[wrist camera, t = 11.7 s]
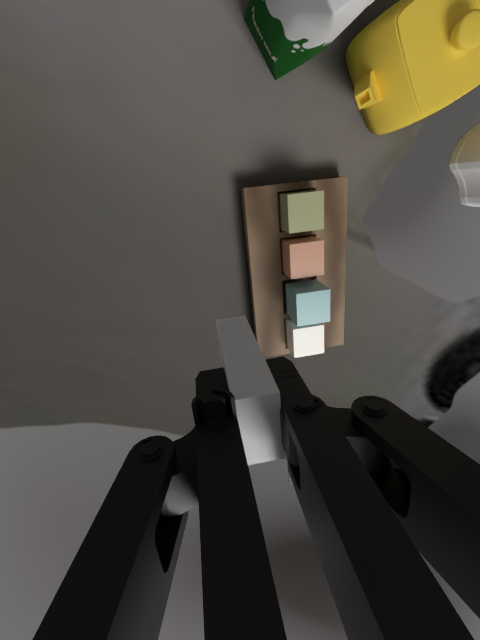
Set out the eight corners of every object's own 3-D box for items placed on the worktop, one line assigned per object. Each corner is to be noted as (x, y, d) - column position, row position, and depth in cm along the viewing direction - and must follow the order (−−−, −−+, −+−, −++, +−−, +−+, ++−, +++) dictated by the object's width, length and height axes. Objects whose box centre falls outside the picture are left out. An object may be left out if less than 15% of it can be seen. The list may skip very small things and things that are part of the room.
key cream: (284, 343, 53) (294, 357, 48) (283, 316, 51) (292, 329, 47) (312, 338, 53) (324, 353, 49) (311, 312, 52) (324, 324, 47)
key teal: (286, 313, 49) (297, 326, 44) (285, 283, 47) (296, 294, 42) (316, 308, 49) (330, 321, 45) (316, 279, 47) (330, 289, 43)
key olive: (278, 228, 46) (289, 233, 41) (277, 193, 44) (287, 194, 40) (310, 224, 46) (324, 229, 42) (309, 190, 45) (324, 190, 40)
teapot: (341, 162, 45) (390, 154, 34) (305, 63, 40) (348, 18, 29) (474, 81, 44) (568, 47, 33) (453, -30, 39) (556, -113, 28)
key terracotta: (281, 270, 48) (290, 279, 44) (279, 239, 47) (289, 244, 42) (311, 266, 49) (324, 274, 44) (310, 234, 47) (323, 240, 42)
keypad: (255, 351, 54) (258, 358, 52) (240, 188, 44) (243, 188, 42) (337, 338, 55) (343, 344, 53) (339, 177, 46) (347, 176, 43)
